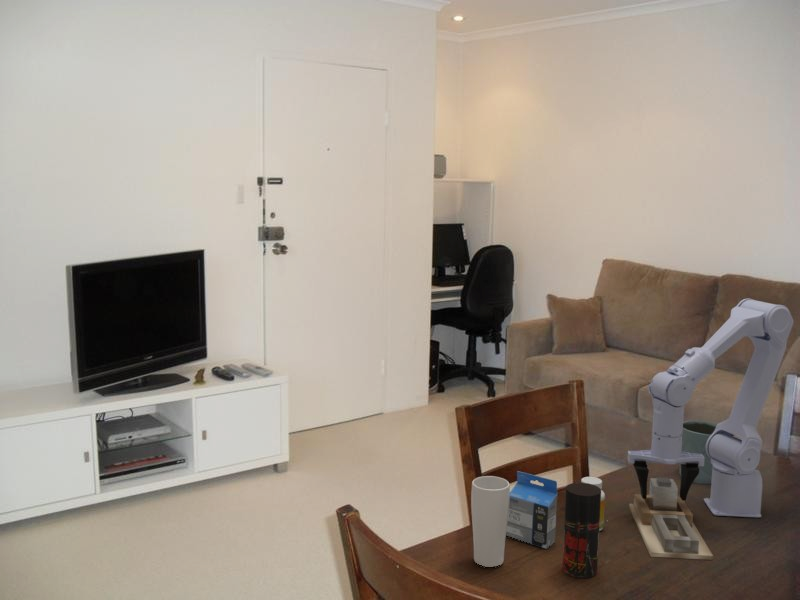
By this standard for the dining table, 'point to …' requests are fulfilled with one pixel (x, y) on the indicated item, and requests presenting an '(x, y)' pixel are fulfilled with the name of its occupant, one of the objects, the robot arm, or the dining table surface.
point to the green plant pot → (698, 446)
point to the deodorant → (581, 530)
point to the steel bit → (662, 494)
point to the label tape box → (533, 510)
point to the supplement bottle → (598, 483)
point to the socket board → (669, 531)
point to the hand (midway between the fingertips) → (663, 497)
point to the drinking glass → (489, 519)
